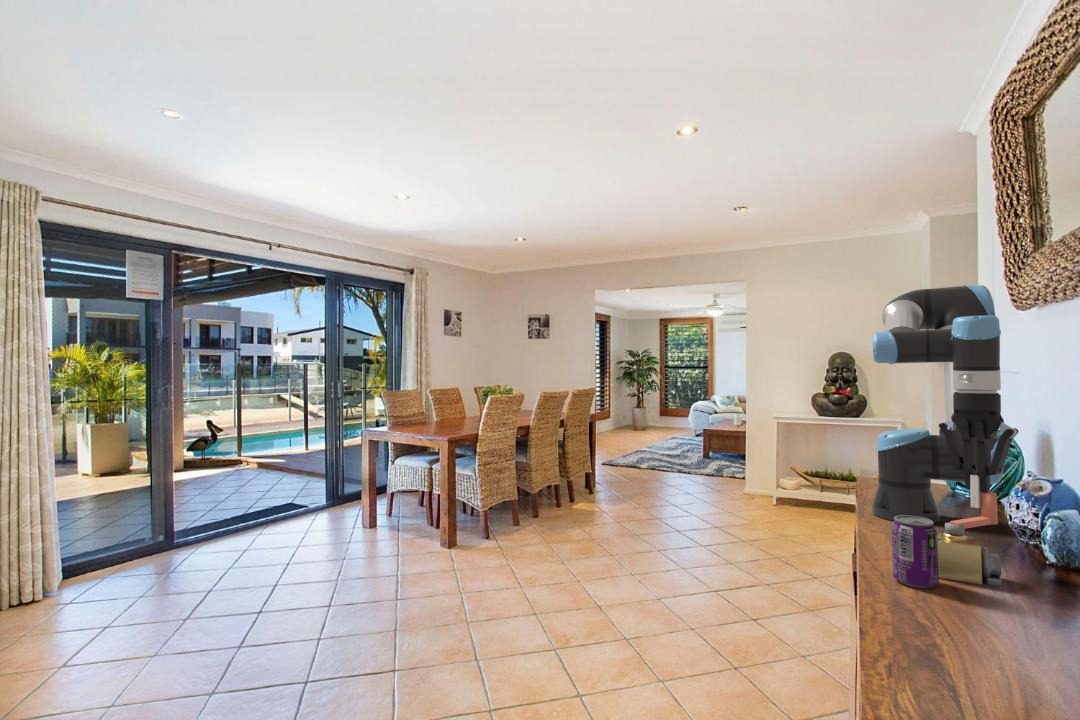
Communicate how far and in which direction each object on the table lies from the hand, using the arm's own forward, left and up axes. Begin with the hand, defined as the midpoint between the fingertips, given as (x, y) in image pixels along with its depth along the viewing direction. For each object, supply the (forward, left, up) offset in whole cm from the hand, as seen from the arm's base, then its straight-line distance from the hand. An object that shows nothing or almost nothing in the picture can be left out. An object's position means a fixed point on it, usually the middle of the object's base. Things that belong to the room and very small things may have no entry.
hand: (977, 506), depth 108 cm
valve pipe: (+8, -5, -12) cm, 15 cm away
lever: (+5, -2, -4) cm, 6 cm away
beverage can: (+16, -12, -12) cm, 23 cm away
